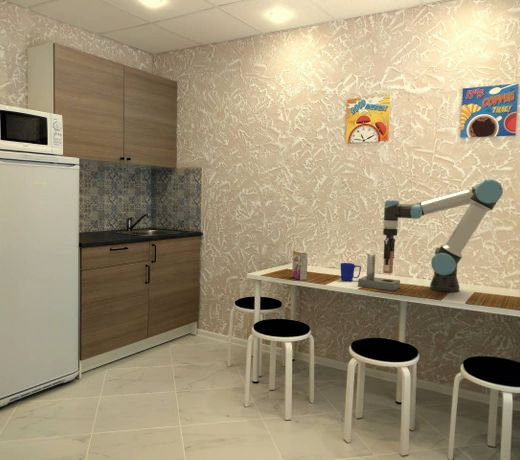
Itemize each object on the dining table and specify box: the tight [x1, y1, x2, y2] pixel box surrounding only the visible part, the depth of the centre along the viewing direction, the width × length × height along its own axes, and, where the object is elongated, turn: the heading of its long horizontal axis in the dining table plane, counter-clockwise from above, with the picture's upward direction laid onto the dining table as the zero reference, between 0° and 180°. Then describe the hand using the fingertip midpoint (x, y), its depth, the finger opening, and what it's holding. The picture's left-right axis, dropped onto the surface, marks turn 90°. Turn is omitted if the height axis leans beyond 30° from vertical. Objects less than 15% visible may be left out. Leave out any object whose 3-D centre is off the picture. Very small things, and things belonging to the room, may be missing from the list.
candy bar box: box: [291, 250, 308, 281], centre depth 277 cm, size 11×5×16 cm, turn 22°
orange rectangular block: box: [382, 250, 395, 275], centre depth 255 cm, size 4×4×12 cm
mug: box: [340, 262, 362, 282], centre depth 275 cm, size 8×12×10 cm
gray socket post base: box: [357, 253, 401, 292], centre depth 258 cm, size 20×12×18 cm, turn 58°
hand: (388, 270), depth 255 cm, fingers closed on orange rectangular block, 4 cm apart
